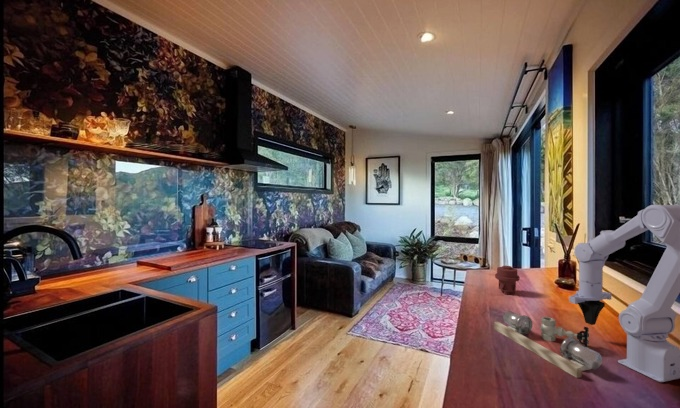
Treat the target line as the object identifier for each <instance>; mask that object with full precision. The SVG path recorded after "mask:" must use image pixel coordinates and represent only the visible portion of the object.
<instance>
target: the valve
mask: <svg viewBox="0 0 680 408" xmlns="http://www.w3.org/2000/svg"><path fill="white" fill-rule="evenodd" d="M540 318H541V320H540V322H541V324H540V331H541V336H540V337H541V338H542V339H543V340H544V341H547V342H551V343H552V342H556V337H560V338H563V336H564V337H565V336H566V337H567V338H568V337H573V338H576V339H577V340H578V341H579V343H580V344H581V345H583V346H585V347H587V348H589V344H590V340H589V338H590V333H589V332H590V327H588V326H583V330H580V331H579V332H576V333H574V332H573V331H571V330H567V331H566V329H564V328H563V327H562V326H556V325H557V322H556V319H554V318H553V317H549V316H542V317H540Z"/></svg>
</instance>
